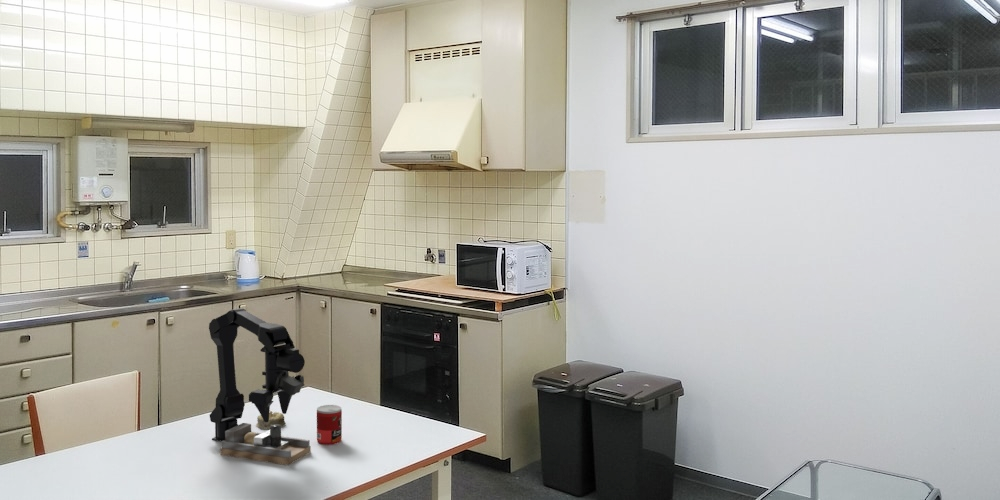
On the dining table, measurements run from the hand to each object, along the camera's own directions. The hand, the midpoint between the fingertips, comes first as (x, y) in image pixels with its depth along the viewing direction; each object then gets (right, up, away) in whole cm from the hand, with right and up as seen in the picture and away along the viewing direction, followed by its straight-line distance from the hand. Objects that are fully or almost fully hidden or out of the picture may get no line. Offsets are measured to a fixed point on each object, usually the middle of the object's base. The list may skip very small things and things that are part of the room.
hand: (275, 417), depth 242 cm
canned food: (+13, -11, +14) cm, 22 cm away
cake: (-10, -9, +30) cm, 33 cm away
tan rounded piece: (-9, -9, +4) cm, 13 cm away
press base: (-4, -11, +2) cm, 12 cm away
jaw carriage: (-2, -9, +1) cm, 10 cm away
